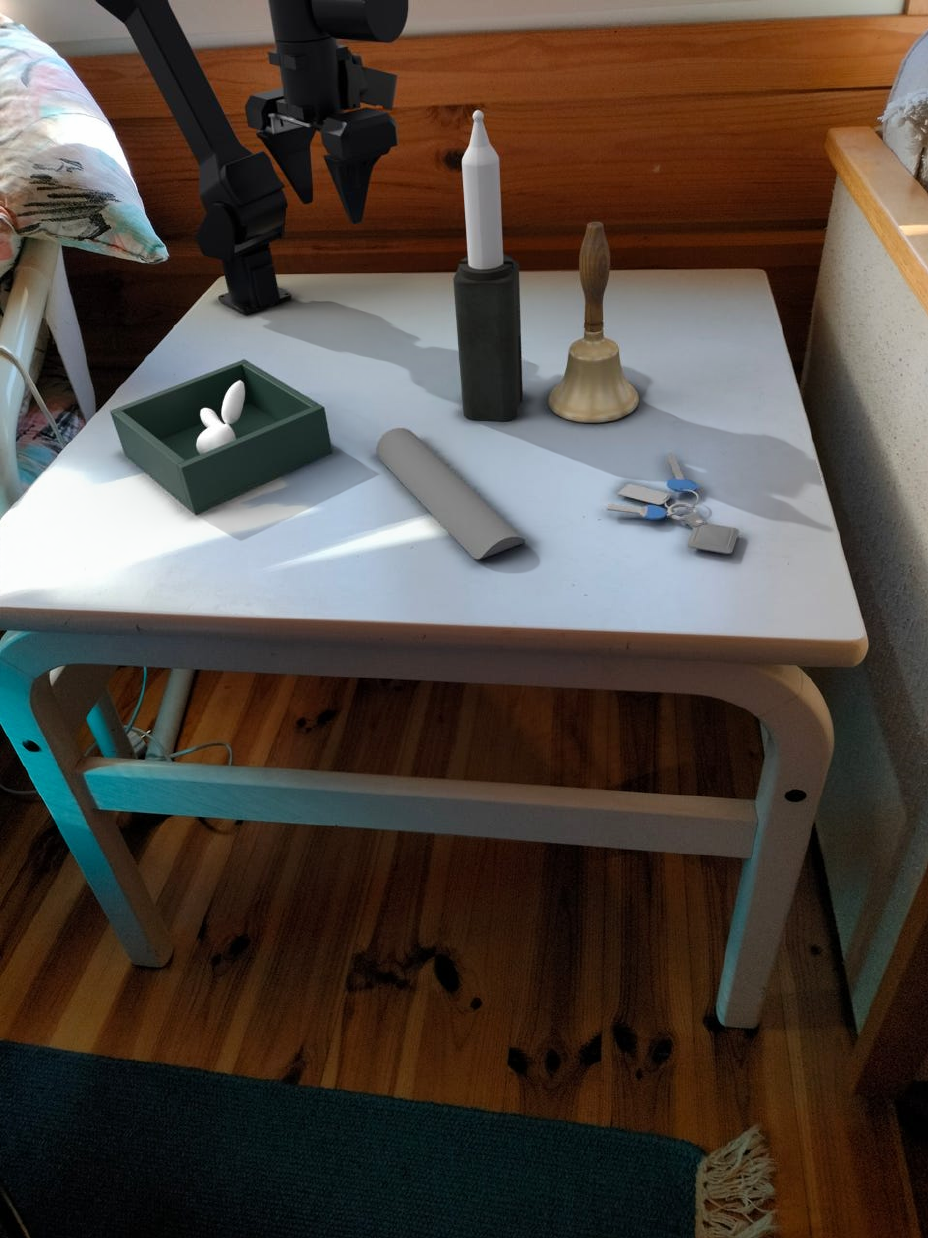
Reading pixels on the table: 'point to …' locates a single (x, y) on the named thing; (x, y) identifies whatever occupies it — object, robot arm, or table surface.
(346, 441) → the table surface
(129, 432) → the bin
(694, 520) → the key chain
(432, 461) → the half round rod
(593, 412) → the hand bell
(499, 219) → the candle
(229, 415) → the rabbit figurine
